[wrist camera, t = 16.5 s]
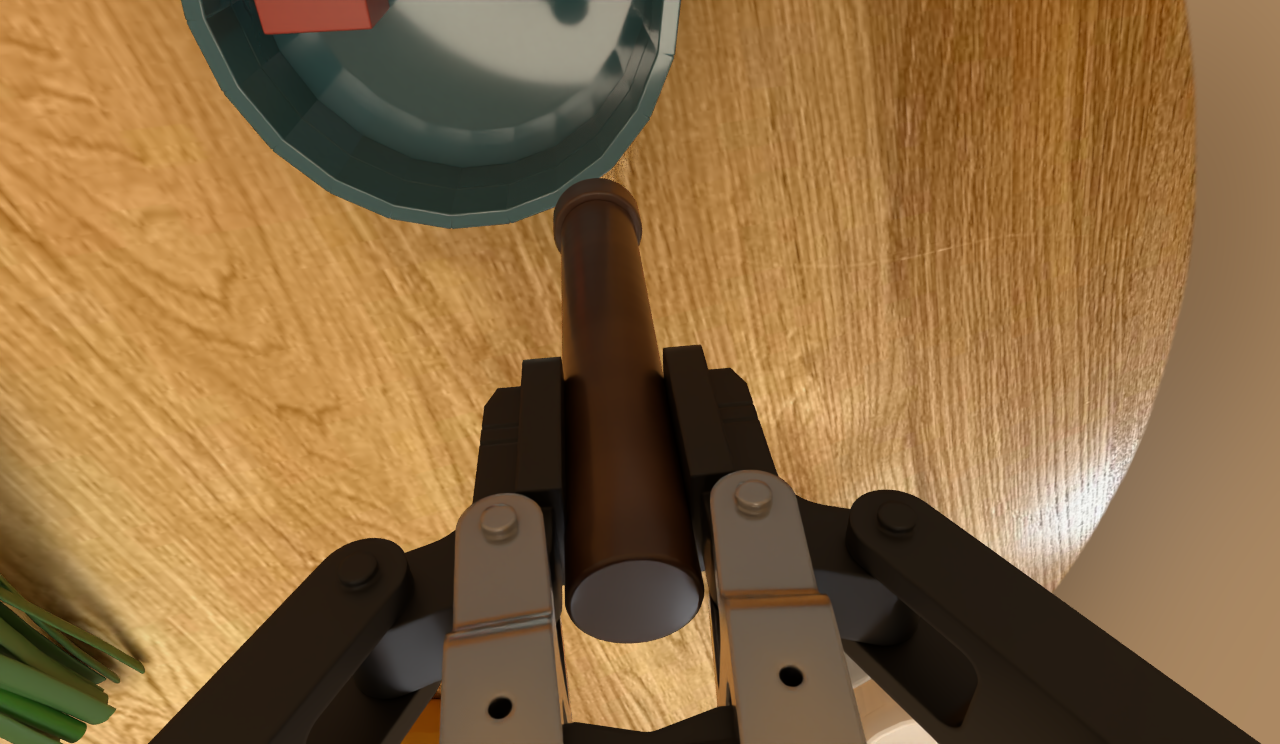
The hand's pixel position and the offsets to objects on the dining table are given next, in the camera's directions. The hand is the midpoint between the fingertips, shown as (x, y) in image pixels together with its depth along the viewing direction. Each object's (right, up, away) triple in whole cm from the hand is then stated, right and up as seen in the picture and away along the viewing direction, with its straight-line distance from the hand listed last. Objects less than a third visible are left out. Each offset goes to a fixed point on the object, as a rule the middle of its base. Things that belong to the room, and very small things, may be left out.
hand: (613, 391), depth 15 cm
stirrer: (-1, +5, +7) cm, 8 cm away
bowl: (-7, +17, +17) cm, 25 cm away
